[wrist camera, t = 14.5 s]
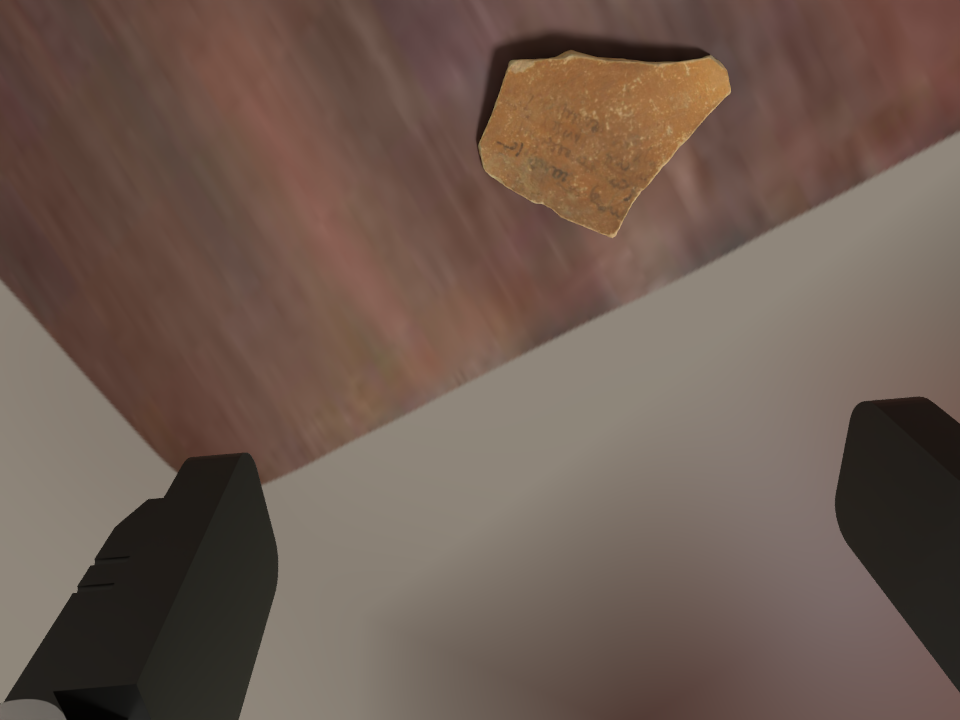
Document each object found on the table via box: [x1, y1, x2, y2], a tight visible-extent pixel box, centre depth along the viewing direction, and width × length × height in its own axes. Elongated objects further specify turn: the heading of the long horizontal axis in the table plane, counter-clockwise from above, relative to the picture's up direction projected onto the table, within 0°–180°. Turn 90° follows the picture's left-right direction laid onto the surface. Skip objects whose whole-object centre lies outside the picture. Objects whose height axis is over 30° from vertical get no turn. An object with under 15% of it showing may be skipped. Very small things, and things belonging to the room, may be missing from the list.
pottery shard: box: [478, 50, 731, 238], centre depth 34 cm, size 10×9×2 cm
